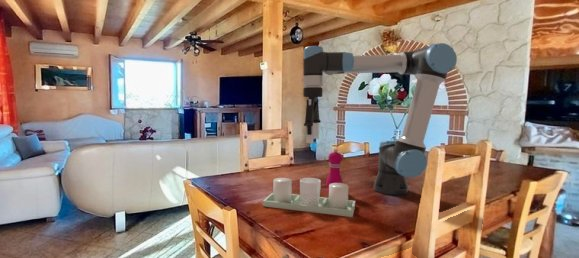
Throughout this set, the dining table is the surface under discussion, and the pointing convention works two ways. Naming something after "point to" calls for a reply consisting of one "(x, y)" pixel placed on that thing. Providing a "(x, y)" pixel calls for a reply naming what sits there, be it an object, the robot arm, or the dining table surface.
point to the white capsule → (282, 190)
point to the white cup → (310, 191)
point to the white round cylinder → (338, 196)
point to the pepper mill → (334, 168)
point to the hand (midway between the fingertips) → (312, 140)
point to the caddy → (321, 208)
